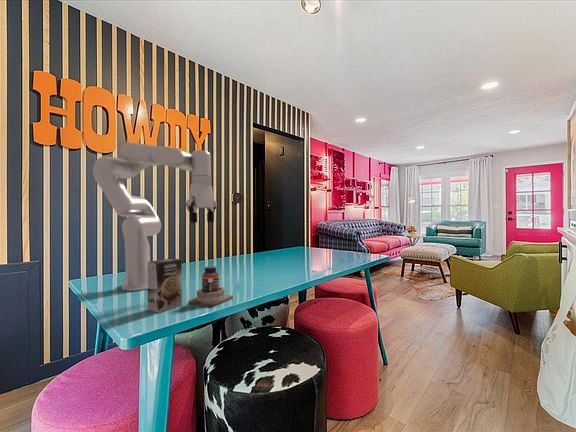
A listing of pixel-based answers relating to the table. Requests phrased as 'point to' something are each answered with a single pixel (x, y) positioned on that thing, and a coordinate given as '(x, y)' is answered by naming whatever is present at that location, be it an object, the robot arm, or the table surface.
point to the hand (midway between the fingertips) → (202, 222)
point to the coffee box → (164, 284)
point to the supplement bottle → (210, 280)
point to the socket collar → (210, 298)
